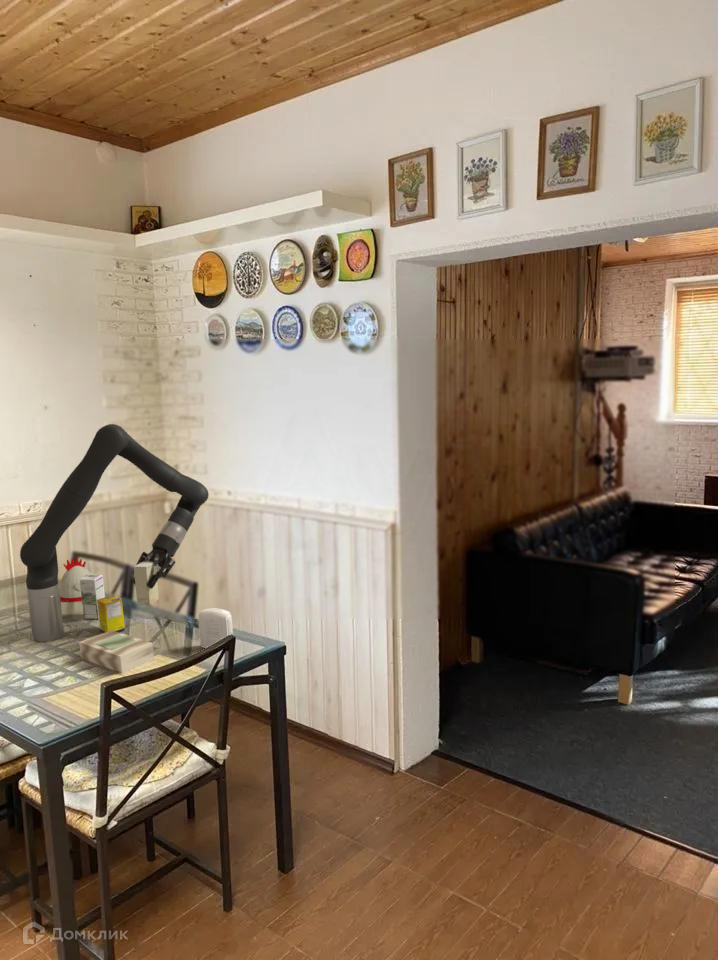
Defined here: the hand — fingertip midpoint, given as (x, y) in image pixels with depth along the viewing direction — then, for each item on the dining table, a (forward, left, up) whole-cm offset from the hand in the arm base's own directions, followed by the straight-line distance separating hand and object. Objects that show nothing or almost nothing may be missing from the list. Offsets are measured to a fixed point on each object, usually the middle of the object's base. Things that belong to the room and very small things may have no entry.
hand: (142, 585), depth 220 cm
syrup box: (-36, +6, -19) cm, 41 cm away
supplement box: (-19, +1, -19) cm, 27 cm away
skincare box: (0, +2, -6) cm, 6 cm away
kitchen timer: (-62, +16, -19) cm, 67 cm away
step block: (+2, -12, -19) cm, 22 cm away
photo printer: (+22, +9, -19) cm, 30 cm away
